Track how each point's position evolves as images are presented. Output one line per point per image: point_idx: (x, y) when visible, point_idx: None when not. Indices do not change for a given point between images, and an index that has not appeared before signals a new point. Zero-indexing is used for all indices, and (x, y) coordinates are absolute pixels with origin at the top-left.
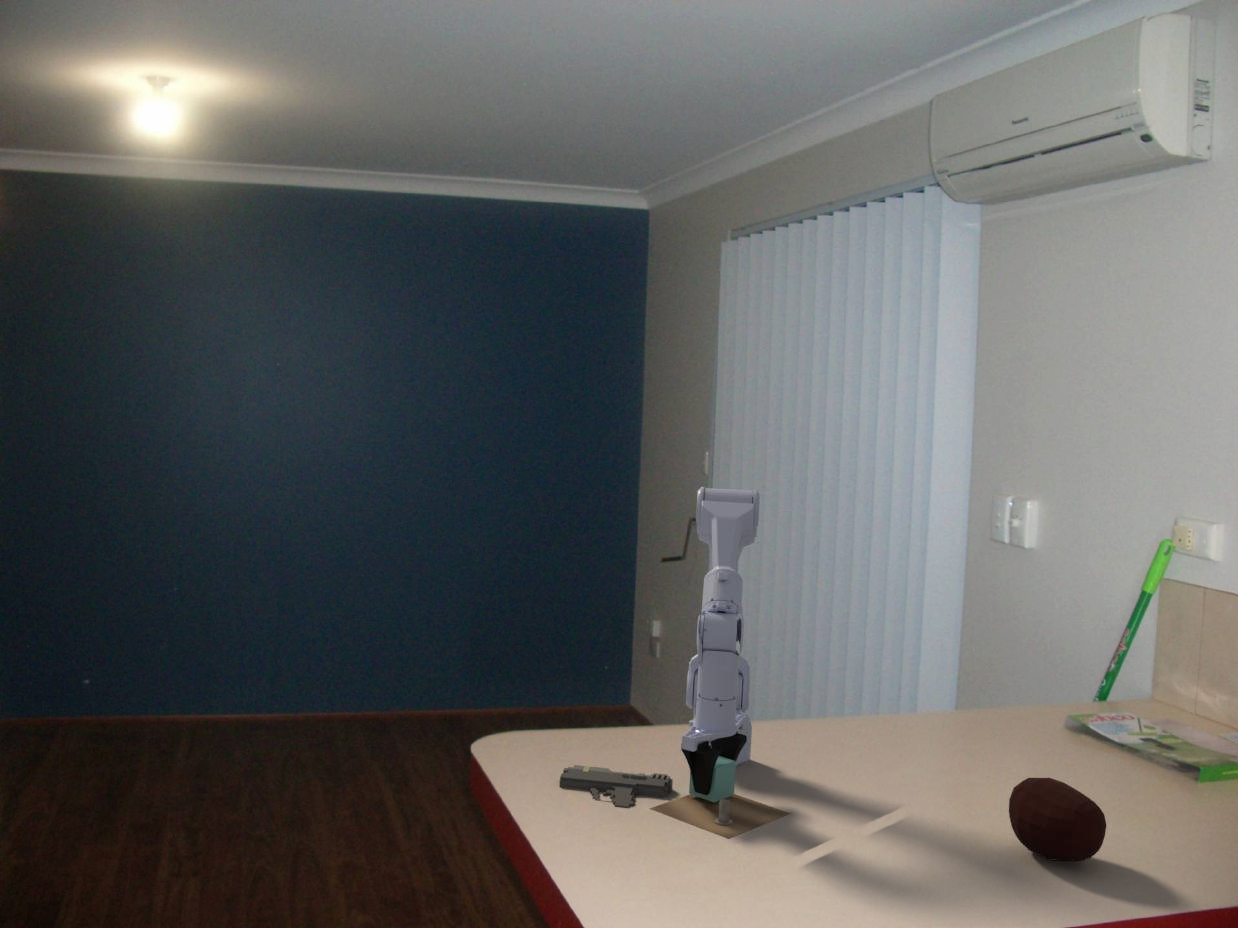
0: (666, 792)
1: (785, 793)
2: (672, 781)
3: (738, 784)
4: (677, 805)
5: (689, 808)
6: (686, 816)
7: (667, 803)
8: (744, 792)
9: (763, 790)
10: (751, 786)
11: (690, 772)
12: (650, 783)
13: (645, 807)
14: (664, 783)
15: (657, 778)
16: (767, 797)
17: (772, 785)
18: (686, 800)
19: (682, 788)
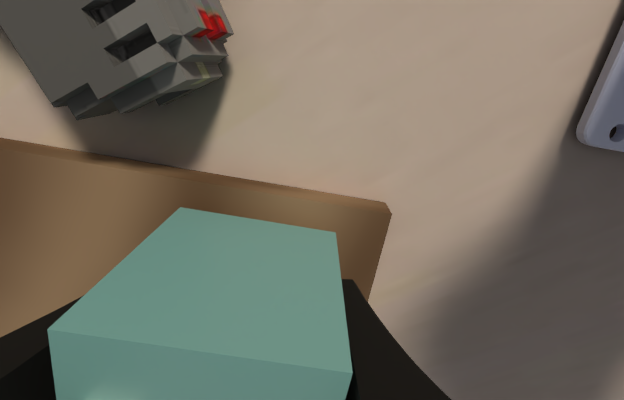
0: (96, 111)
1: (538, 391)
2: (193, 80)
3: (551, 235)
4: (64, 213)
5: (80, 266)
6: (8, 295)
7: (42, 166)
8: (468, 292)
9: (530, 331)
10: (553, 283)
11: (121, 263)
12: (5, 5)
13: (7, 60)
14: (78, 86)
15: (83, 4)
16: (463, 366)
17: (604, 333)
18: (143, 213)
19: (353, 61)
